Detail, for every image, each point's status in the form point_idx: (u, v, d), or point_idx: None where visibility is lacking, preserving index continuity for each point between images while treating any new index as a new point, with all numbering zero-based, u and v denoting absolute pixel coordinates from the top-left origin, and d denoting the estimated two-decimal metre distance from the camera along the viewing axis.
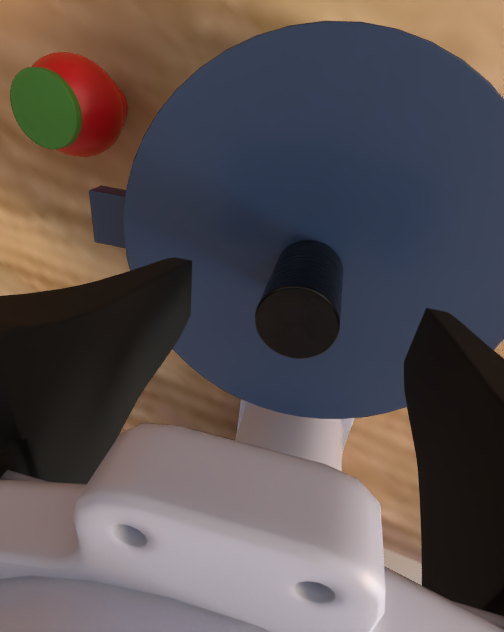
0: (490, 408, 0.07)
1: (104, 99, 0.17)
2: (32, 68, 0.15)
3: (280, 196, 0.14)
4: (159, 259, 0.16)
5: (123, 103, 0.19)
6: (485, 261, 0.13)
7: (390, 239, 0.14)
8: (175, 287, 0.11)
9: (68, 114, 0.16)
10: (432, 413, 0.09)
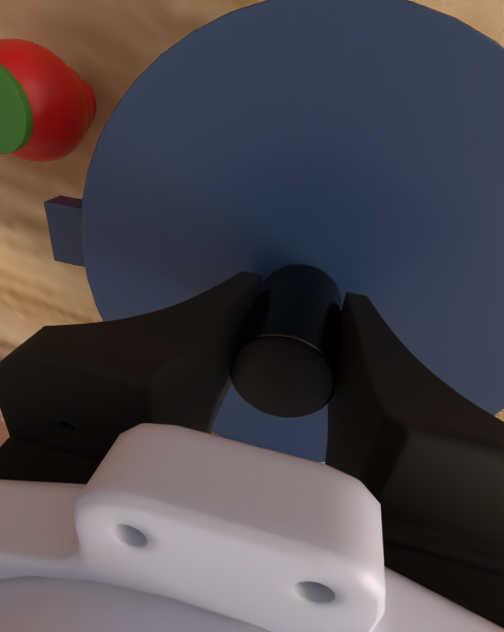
0: (361, 378, 0.07)
1: (61, 94, 0.14)
2: None
3: (264, 212, 0.11)
4: (125, 282, 0.14)
5: (88, 99, 0.16)
6: None
7: (398, 265, 0.11)
8: (250, 303, 0.11)
9: (15, 112, 0.13)
10: (338, 391, 0.10)
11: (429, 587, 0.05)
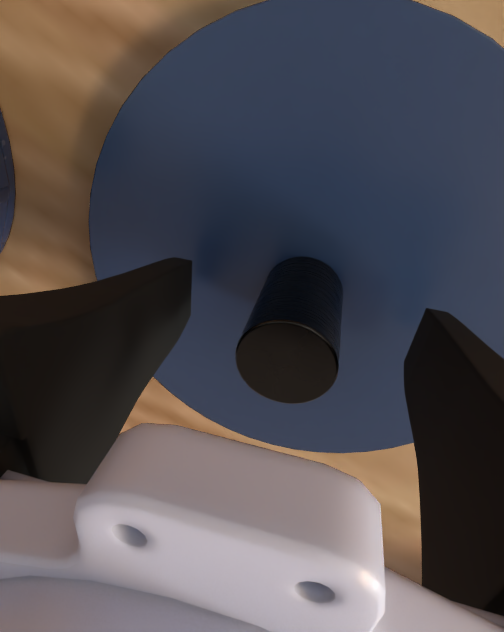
0: (490, 408, 0.07)
1: None
2: None
3: (268, 205, 0.12)
4: None
5: None
6: None
7: (398, 256, 0.12)
8: (175, 287, 0.11)
9: None
10: (432, 413, 0.09)
11: None
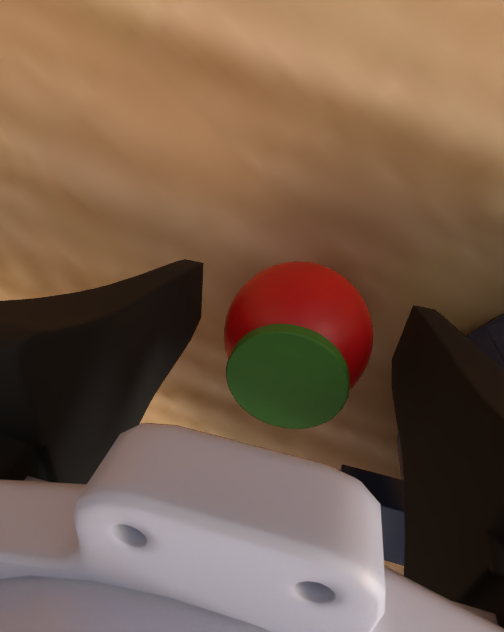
0: (468, 404, 0.07)
1: (369, 346, 0.10)
2: (287, 334, 0.09)
3: None
4: None
5: None
6: None
7: None
8: (187, 289, 0.11)
9: (332, 396, 0.09)
10: (417, 409, 0.09)
11: None
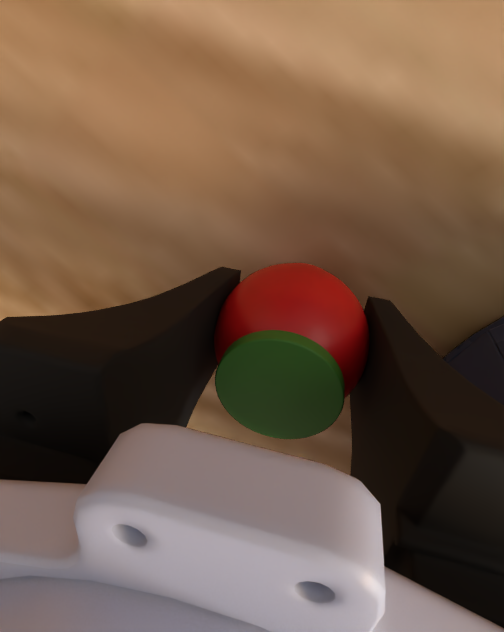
0: (396, 387, 0.07)
1: (365, 352, 0.10)
2: (278, 341, 0.08)
3: None
4: None
5: None
6: None
7: None
8: None
9: (327, 406, 0.09)
10: (364, 397, 0.09)
11: (481, 602, 0.05)
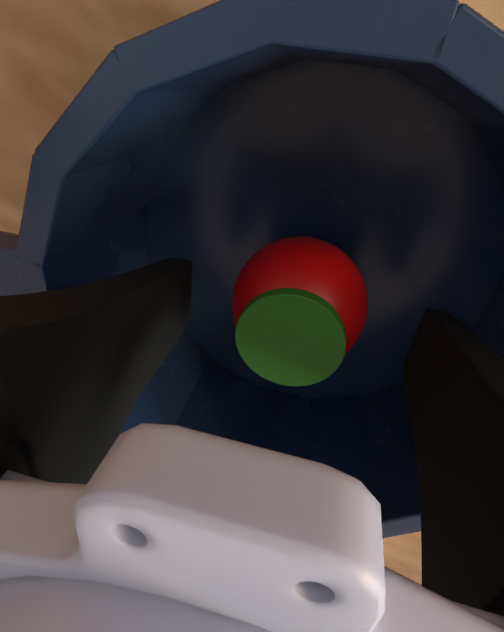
0: (490, 408, 0.07)
1: (364, 311, 0.11)
2: (290, 296, 0.10)
3: None
4: None
5: None
6: None
7: None
8: (175, 287, 0.11)
9: (331, 354, 0.10)
10: (432, 413, 0.09)
11: None
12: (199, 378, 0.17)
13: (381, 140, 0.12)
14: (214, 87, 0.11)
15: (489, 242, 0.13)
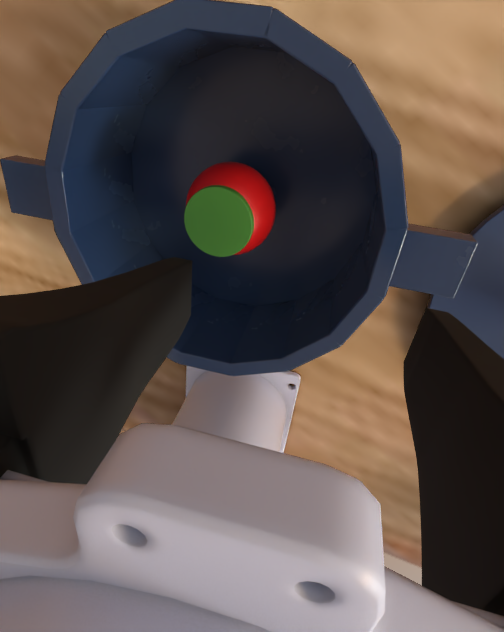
0: (490, 408, 0.07)
1: (269, 208, 0.17)
2: (215, 188, 0.16)
3: None
4: (460, 308, 0.20)
5: None
6: None
7: None
8: (175, 287, 0.11)
9: (243, 228, 0.16)
10: (432, 413, 0.09)
11: None
12: None
13: (285, 100, 0.18)
14: (172, 63, 0.17)
15: (363, 172, 0.19)
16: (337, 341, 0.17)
